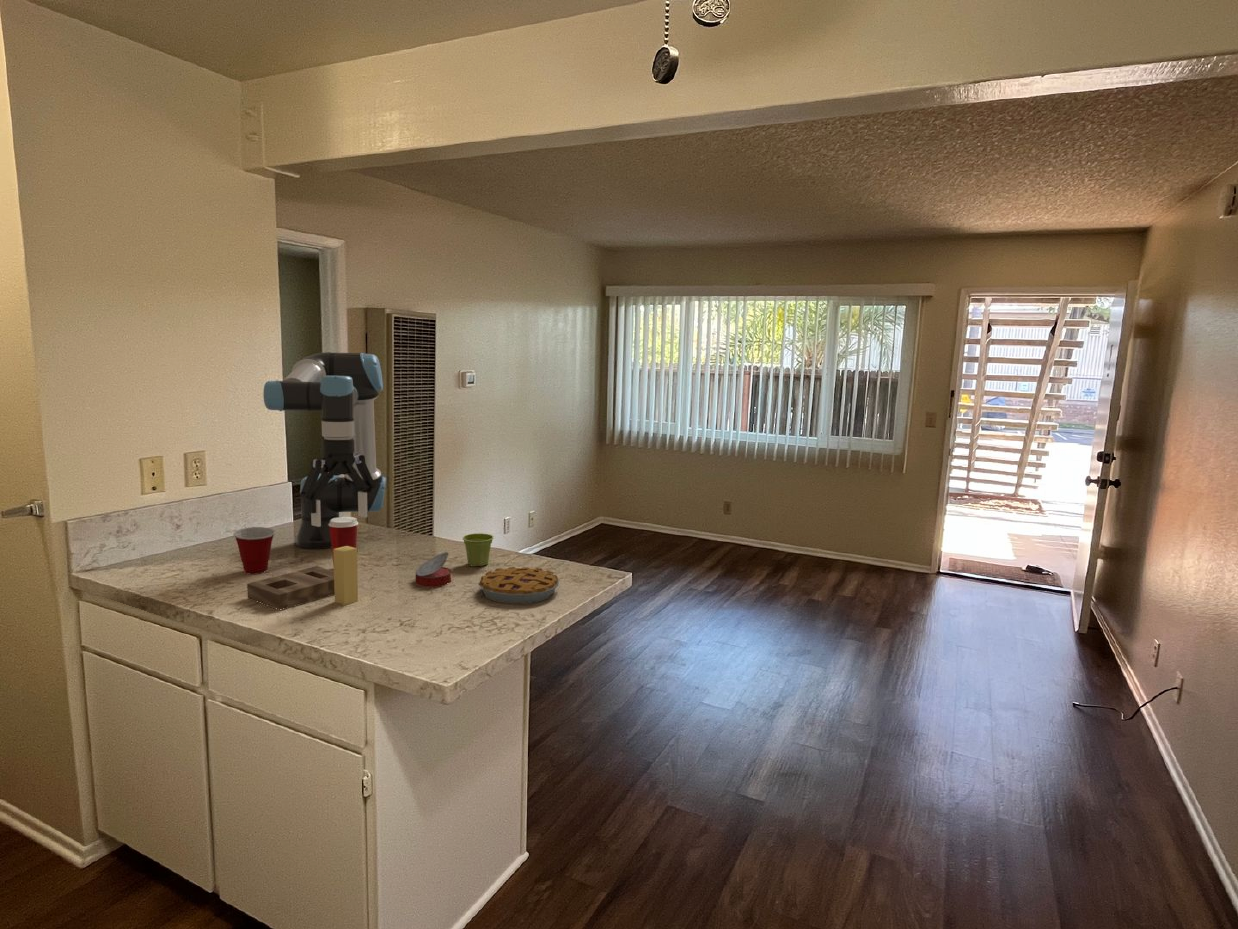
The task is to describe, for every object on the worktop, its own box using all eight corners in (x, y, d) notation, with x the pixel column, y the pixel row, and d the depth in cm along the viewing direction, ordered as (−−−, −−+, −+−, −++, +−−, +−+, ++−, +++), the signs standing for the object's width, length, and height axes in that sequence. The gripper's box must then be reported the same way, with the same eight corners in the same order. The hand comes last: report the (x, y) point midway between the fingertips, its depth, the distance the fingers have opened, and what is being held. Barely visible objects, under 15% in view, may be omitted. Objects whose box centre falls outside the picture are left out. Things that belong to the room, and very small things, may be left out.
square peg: (348, 597, 185) (346, 545, 183) (357, 600, 183) (356, 548, 181) (334, 601, 182) (333, 549, 180) (344, 605, 180) (343, 551, 178)
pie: (467, 602, 185) (467, 584, 184) (493, 578, 207) (493, 561, 206) (548, 609, 182) (548, 590, 181) (566, 583, 204) (567, 566, 203)
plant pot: (490, 569, 214) (490, 541, 213) (459, 568, 214) (459, 540, 213) (496, 560, 223) (496, 533, 222) (466, 559, 223) (466, 532, 222)
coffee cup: (364, 565, 213) (363, 517, 211) (351, 573, 205) (350, 523, 203) (337, 564, 214) (336, 515, 212) (323, 572, 206) (322, 521, 204)
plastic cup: (246, 579, 197) (244, 537, 195) (228, 571, 203) (226, 531, 202) (284, 571, 206) (282, 531, 204) (265, 563, 212) (264, 524, 210)
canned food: (443, 602, 198) (439, 577, 192) (410, 594, 200) (405, 569, 194) (460, 573, 207) (456, 549, 201) (428, 567, 209) (424, 542, 203)
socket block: (317, 579, 199) (316, 566, 198) (349, 589, 191) (348, 575, 191) (247, 598, 182) (247, 583, 182) (279, 610, 175) (278, 594, 174)
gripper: (370, 433, 189) (371, 511, 192) (282, 440, 168) (285, 527, 171) (388, 435, 185) (390, 515, 188) (301, 443, 164) (304, 532, 167)
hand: (340, 521), depth 180 cm, fingers open, 13 cm apart
